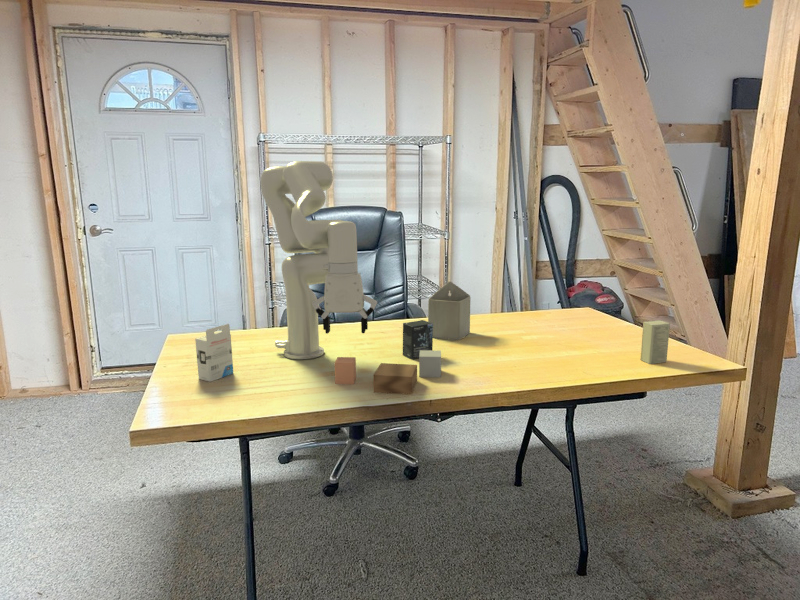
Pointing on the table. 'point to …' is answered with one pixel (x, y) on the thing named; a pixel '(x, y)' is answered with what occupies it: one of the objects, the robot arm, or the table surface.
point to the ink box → (214, 354)
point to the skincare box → (655, 341)
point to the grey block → (429, 363)
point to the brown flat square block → (395, 378)
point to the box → (417, 338)
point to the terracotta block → (345, 370)
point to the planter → (449, 312)
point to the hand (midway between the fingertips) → (345, 332)
